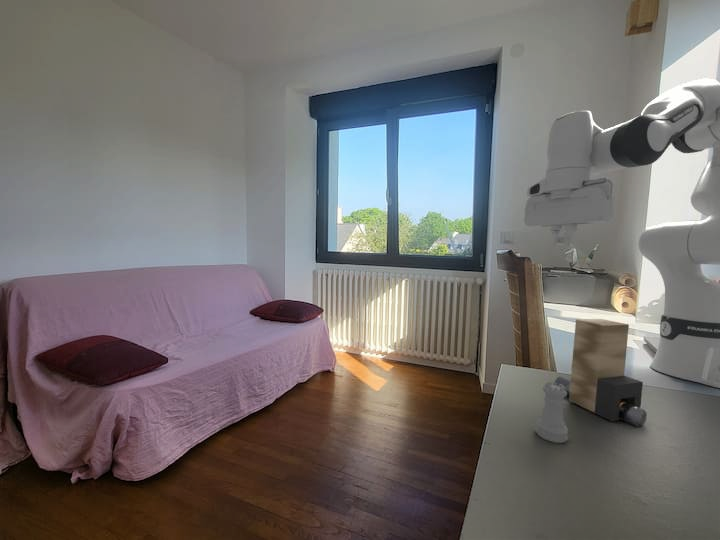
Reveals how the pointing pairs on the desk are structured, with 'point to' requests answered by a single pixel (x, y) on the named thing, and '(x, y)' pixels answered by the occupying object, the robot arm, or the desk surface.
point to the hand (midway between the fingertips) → (562, 244)
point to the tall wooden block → (596, 357)
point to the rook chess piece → (553, 415)
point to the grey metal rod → (626, 409)
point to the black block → (616, 395)
